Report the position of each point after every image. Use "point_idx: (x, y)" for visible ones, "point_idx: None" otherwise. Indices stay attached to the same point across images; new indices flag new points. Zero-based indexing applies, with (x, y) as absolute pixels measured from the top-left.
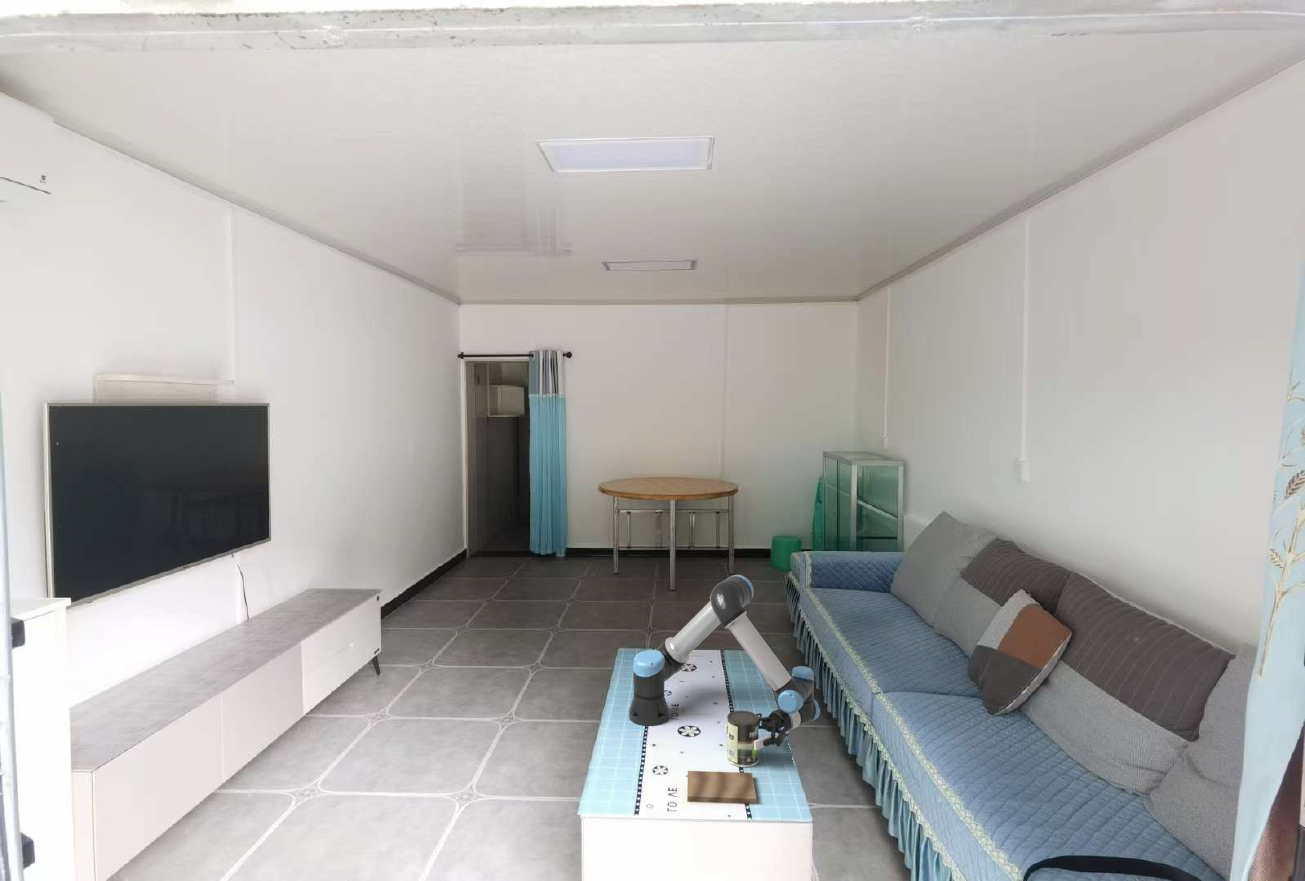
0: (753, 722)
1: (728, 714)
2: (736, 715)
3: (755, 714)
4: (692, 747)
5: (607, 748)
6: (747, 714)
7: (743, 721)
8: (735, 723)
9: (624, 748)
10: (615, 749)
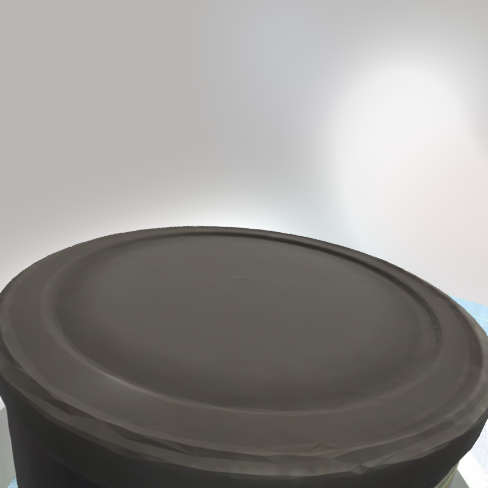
0: (60, 256)
1: (378, 258)
2: (335, 279)
3: (145, 425)
4: (481, 457)
5: (481, 307)
6: (293, 351)
7: (180, 249)
8: (210, 229)
9: (479, 322)
10: (474, 311)
